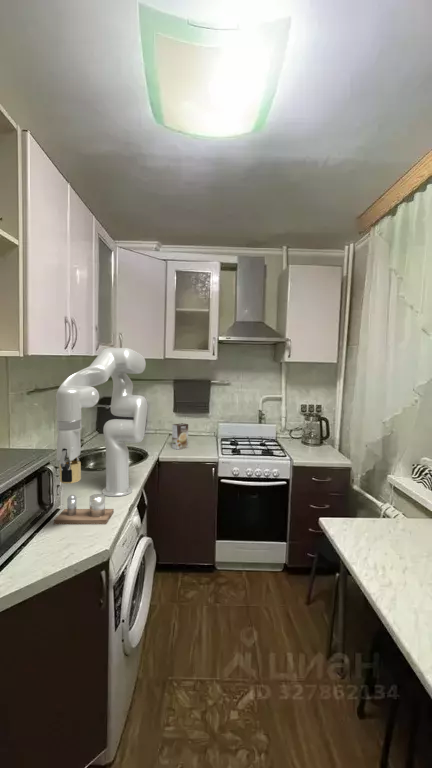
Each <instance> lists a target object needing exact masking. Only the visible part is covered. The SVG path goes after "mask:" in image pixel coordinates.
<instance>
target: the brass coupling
mask: <svg viewBox="0 0 432 768" xmlns="http://www.w3.org/2000/svg"><path fill="white" fill-rule="evenodd" d="M67 464H69V462H68V463H67ZM81 464H82V462H81V461H80V460H79V461H78V460H72V462H71V470H72V482H62V473H61V465H60V464H59V482H60V483H62V484H74V483H77V482H80V480H81V479H82V472H81V471H82V469H81V468H82V467H81V466H82V465H81Z"/></svg>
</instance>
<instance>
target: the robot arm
mask: <svg viewBox="0 0 432 768" xmlns="http://www.w3.org/2000/svg"><path fill="white" fill-rule="evenodd" d="M146 364H147V363H146V359H145V357H144V355H142V354H141V353H140V352H137V351H136V350H134V349H132V348H129V347H107V348H105V349H102V350H101V351H100V352H99V353H98V354H97V356H96V357H95V358H94V360H93V361H92V362H91V364H90V365H89V366H87V367H85V368H82V369H80V370H78V371H77V372H74V373H73V374H71V375H69V376H68V377H67V378H66V379H64V381H63V382H62V383H61V384H60V386H59V387H58V388H57V391H56V394H55V399H56V427H57V430H56V431H57V441H56V461H57V462H59V466H60V465H61V473H62V482H72V470H71V462H72V460H78V461H80V459H79V458H80V455H81V453H82V452H81V451H82V450H81V449H82V448H81V447H82V446H81V445H82V443H81V432H80V431H81V430H82V428H83V427H82V408H85V409H86V408H87V409H88V408H93V407H94V406H96V405H97V404H98V402H99V400H100V394H99V391H98V390H97V388H95V386H99V385H103V384H104V383H106V382H107V381H108V380H109V379H110V377H111V379H112V384H113V386H112V387H113V388H112V395H111V401H110V413H111V414H112V415H113V416H114V417H115V416H116V417H121V419H120V418H118V419H117V418H114V419H109V420H108V421H106V422H105V423H104V425H103V437H104V442H105V487H104V488H103V489H102V490H101V492H102V493H101V494H104V495H105V497H115V498H116V497H123V496H126V495H129V494H131V493H132V492H133V487H132V486H131V485H130V482H129V481H130V480H129V479H130V478H129V477H130V474H129V473H130V470H129V469H130V466H129V465H130V463H129V461H130V460H129V459H130V457H129V456H130V453H129V448H128V446H127V445H126V443H140V442H142V441H143V440H144V438H145V434H146V425H147V418H148V406H149V405H148V401H147V399H146V397H145V396H143V395H138V394H136V395H135V394H133V390H134V389H133V388H134V383H133V382H132V380H131V378H130V377H129V375H128V374H132V375H133V374H134V375H135V374H136V375H140V374H143V372H144V371H145V370H146V366H147V365H146ZM122 417H123V418H127V417H128V418H133V419H123V418H122ZM68 462H69V464H67V463H68ZM62 482H61V483H62Z"/></svg>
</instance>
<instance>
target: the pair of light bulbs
mask: <svg viewBox="0 0 432 768" xmlns="http://www.w3.org/2000/svg"><path fill="white" fill-rule="evenodd" d="M66 502H67V503H66V504H67V508H66V509H67V515H68V516H74V515H76V509H77V496H76V495H74V494H70V495H68V496H67V501H66ZM89 509H90V516H91V517H101V516H103V515H105V509H106V495H104V494H103V493H96V494H91V495H89Z"/></svg>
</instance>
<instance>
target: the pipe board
mask: <svg viewBox="0 0 432 768" xmlns="http://www.w3.org/2000/svg"><path fill="white" fill-rule="evenodd" d="M113 515H114V508H105V515H103V516H101V517H91V516H90V508H76V515H74V516H68V515H67V508H64V509H62V511H61V512H60V513H59V514H58V515H57V516H56V517H55V518H54V519H53V525H107V524H108V522H109V520H110V519H111V517H112V516H113Z"/></svg>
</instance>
